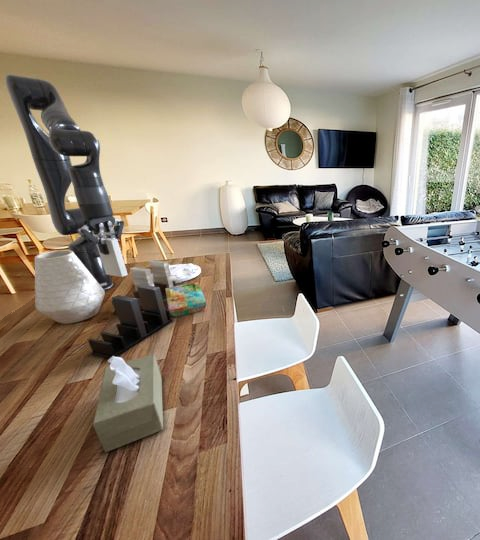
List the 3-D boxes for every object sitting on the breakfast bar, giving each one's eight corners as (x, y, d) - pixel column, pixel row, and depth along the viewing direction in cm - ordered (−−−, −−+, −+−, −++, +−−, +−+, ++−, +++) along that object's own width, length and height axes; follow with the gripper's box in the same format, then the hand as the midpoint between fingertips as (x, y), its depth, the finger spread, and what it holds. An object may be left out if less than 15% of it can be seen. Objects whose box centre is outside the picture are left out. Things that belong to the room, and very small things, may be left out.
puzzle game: (168, 308, 99) (164, 286, 114) (170, 319, 101) (167, 296, 116) (205, 299, 106) (197, 280, 121) (207, 310, 107) (199, 290, 122)
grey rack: (112, 359, 82) (96, 318, 76) (91, 355, 83) (75, 313, 78) (173, 321, 100) (164, 285, 95) (155, 317, 102) (145, 282, 97)
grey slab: (131, 316, 102) (119, 281, 96) (114, 313, 103) (102, 278, 98) (178, 291, 121) (171, 260, 115) (163, 288, 122) (156, 258, 117)
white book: (122, 277, 97) (111, 240, 92) (106, 274, 99) (94, 238, 94) (128, 274, 99) (117, 238, 94) (112, 272, 101) (100, 236, 95)
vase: (33, 320, 98) (3, 257, 89) (94, 299, 112) (74, 243, 103) (58, 335, 91) (28, 268, 82) (120, 310, 105) (101, 251, 96)
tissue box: (115, 391, 71) (94, 339, 65) (161, 376, 76) (147, 327, 70) (105, 454, 57) (77, 395, 51) (163, 431, 62) (145, 374, 56)
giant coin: (209, 274, 138) (208, 268, 137) (166, 289, 122) (165, 283, 121) (186, 265, 147) (185, 259, 146) (143, 277, 131) (141, 271, 130)
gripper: (107, 196, 96) (121, 245, 103) (58, 203, 84) (78, 258, 90) (125, 198, 95) (138, 248, 101) (78, 205, 82) (96, 261, 89)
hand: (110, 252), depth 96 cm, fingers closed on white book, 2 cm apart
